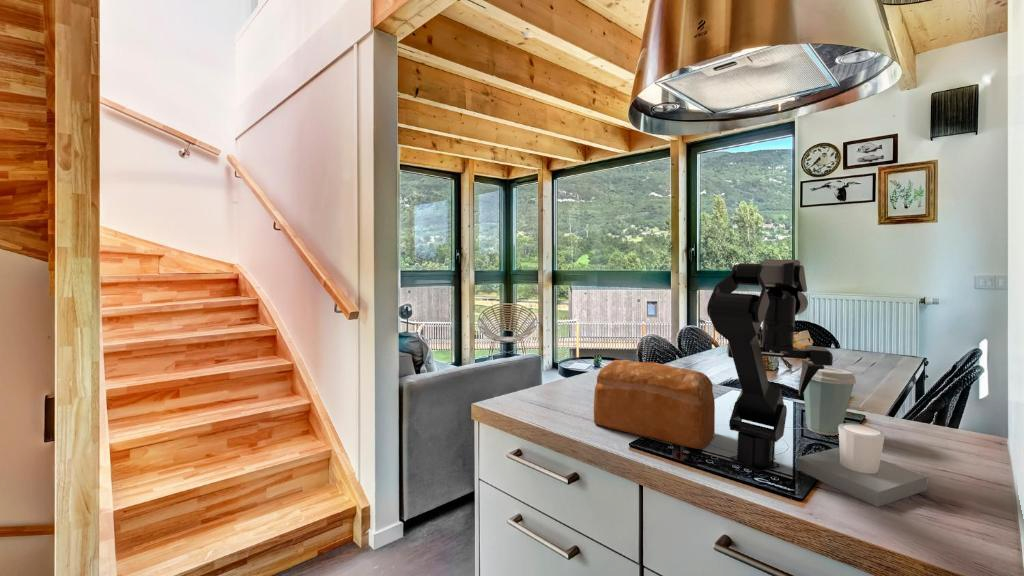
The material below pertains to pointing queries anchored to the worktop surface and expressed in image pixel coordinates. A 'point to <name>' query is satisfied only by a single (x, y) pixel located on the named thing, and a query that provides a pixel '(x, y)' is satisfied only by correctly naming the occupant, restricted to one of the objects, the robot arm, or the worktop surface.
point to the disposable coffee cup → (828, 400)
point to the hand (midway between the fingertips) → (774, 392)
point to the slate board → (863, 478)
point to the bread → (656, 402)
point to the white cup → (860, 447)
